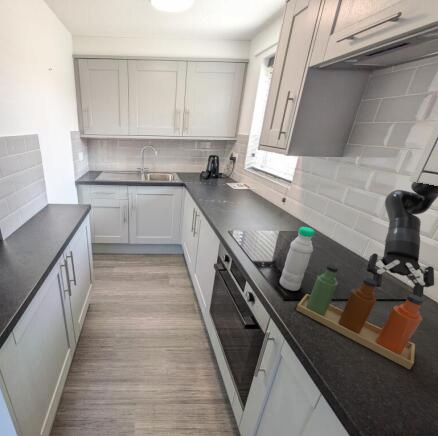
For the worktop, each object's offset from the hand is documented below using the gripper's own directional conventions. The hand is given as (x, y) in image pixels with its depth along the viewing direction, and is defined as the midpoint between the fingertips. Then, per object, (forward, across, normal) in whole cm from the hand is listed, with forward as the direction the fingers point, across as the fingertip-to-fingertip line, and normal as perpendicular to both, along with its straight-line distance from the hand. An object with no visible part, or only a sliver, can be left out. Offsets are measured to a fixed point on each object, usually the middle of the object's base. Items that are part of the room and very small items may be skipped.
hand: (396, 291), depth 70 cm
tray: (+15, -9, +3) cm, 18 cm away
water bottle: (+6, -26, +12) cm, 29 cm away
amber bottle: (+15, -9, +2) cm, 17 cm away
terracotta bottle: (+16, 0, +1) cm, 16 cm away
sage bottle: (+13, -18, +4) cm, 22 cm away
